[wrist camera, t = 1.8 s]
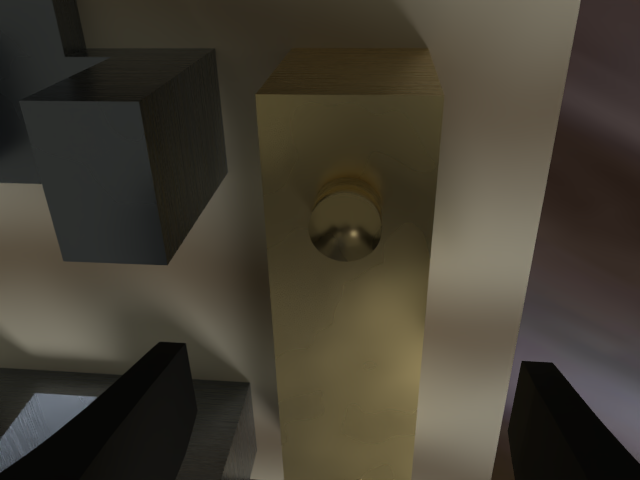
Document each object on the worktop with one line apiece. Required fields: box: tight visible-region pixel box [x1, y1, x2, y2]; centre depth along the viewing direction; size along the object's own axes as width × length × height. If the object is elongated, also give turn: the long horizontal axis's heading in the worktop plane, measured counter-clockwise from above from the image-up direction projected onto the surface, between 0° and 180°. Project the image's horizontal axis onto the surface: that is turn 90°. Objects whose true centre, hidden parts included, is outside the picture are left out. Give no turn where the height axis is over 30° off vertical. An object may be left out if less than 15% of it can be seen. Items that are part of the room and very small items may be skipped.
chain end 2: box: [0, 368, 257, 480], centre depth 17 cm, size 4×8×4 cm, turn 91°
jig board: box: [0, 0, 581, 480], centre depth 16 cm, size 16×17×1 cm
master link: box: [255, 48, 444, 480], centre depth 13 cm, size 13×3×5 cm, turn 1°
